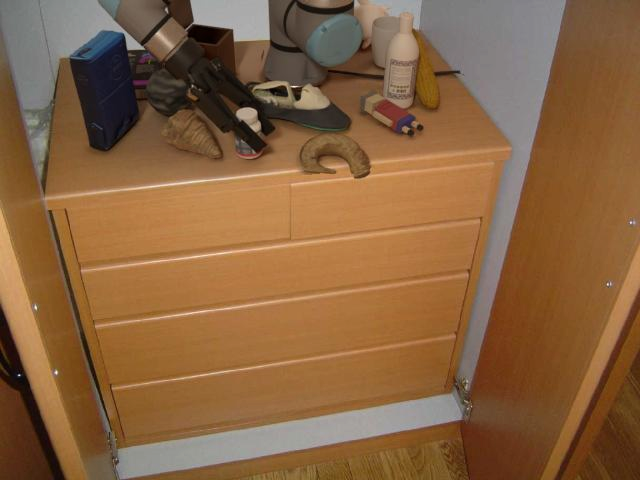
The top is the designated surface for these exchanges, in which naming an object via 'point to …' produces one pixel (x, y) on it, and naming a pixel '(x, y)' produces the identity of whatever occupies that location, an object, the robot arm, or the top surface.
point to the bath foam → (401, 64)
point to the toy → (389, 113)
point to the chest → (215, 43)
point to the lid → (181, 12)
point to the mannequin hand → (368, 18)
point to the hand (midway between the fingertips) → (266, 140)
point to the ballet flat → (298, 105)
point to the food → (425, 77)
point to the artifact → (335, 154)
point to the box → (142, 70)
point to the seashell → (190, 134)
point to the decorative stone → (167, 93)
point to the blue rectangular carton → (105, 88)
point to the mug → (382, 37)
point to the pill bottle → (252, 121)
